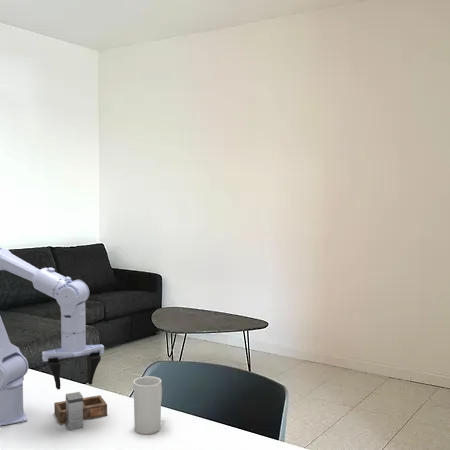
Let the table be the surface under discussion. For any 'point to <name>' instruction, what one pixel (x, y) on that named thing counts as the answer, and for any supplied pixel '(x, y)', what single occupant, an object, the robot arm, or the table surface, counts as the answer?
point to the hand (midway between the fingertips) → (74, 385)
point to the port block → (91, 409)
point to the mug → (147, 404)
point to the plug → (74, 411)
